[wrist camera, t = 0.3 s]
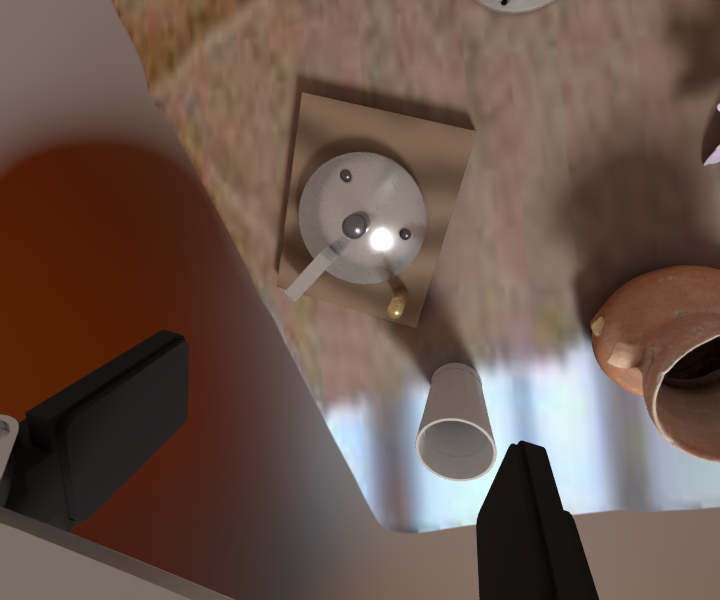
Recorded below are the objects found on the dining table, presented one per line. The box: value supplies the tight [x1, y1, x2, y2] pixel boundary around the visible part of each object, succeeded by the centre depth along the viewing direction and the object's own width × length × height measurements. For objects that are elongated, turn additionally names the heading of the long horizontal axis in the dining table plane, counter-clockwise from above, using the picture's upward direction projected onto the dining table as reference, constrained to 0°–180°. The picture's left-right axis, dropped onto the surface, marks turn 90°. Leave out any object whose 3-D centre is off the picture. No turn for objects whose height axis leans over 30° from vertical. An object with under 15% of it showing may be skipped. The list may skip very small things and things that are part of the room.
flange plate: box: [285, 152, 428, 302], centre depth 42 cm, size 18×14×4 cm
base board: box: [277, 92, 477, 328], centre depth 44 cm, size 22×18×2 cm
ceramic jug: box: [590, 265, 720, 463], centre depth 35 cm, size 18×14×14 cm
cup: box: [415, 363, 497, 481], centre depth 44 cm, size 8×8×12 cm
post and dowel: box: [342, 211, 409, 319], centre depth 41 cm, size 12×2×6 cm, turn 31°
